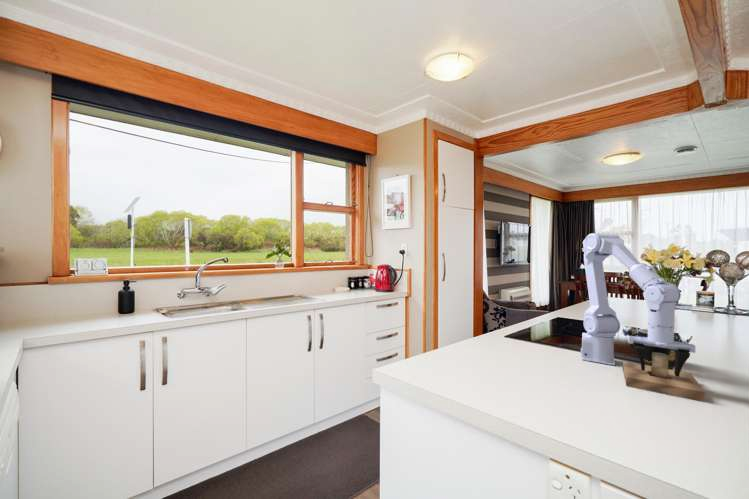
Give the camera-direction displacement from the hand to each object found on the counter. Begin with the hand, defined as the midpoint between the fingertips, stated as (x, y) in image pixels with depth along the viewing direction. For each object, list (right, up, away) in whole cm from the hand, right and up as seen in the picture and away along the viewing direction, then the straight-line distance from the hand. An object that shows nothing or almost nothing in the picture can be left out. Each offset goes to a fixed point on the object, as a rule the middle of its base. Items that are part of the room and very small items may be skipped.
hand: (659, 372), depth 95 cm
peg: (0, -3, 0) cm, 3 cm away
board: (0, -3, 0) cm, 3 cm away
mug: (+15, -4, +21) cm, 26 cm away
